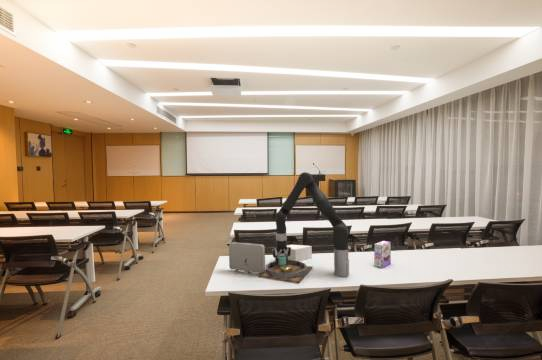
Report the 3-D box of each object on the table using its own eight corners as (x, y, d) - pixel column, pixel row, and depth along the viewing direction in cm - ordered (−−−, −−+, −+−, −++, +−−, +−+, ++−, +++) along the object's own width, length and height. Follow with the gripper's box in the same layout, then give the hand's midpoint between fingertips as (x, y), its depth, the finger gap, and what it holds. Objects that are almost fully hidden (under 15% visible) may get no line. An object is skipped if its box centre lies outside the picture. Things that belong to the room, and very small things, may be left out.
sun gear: (294, 269, 186) (294, 265, 186) (290, 273, 178) (290, 269, 178) (282, 267, 190) (282, 264, 190) (277, 271, 182) (277, 268, 182)
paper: (314, 261, 206) (314, 248, 206) (276, 264, 203) (276, 250, 203) (309, 256, 221) (309, 243, 220) (274, 258, 217) (274, 245, 217)
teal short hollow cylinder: (286, 262, 194) (286, 255, 194) (285, 265, 188) (285, 257, 188) (278, 261, 195) (278, 255, 195) (277, 264, 189) (276, 257, 189)
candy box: (382, 268, 189) (381, 245, 188) (374, 266, 193) (373, 243, 193) (391, 263, 198) (390, 241, 197) (383, 262, 202) (383, 240, 202)
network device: (227, 272, 187) (227, 244, 186) (234, 268, 195) (233, 241, 194) (261, 277, 177) (261, 246, 177) (266, 272, 185) (266, 243, 185)
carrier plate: (312, 268, 191) (312, 261, 191) (299, 283, 166) (298, 274, 166) (276, 263, 203) (275, 256, 203) (258, 277, 178) (258, 268, 177)
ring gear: (311, 266, 191) (311, 262, 191) (298, 281, 166) (298, 276, 166) (276, 262, 202) (276, 258, 202) (259, 274, 178) (259, 270, 178)
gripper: (288, 237, 197) (288, 259, 198) (270, 239, 192) (270, 262, 193) (292, 239, 190) (293, 263, 191) (273, 241, 185) (274, 265, 186)
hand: (281, 262), depth 192 cm, fingers closed on teal short hollow cylinder, 6 cm apart
